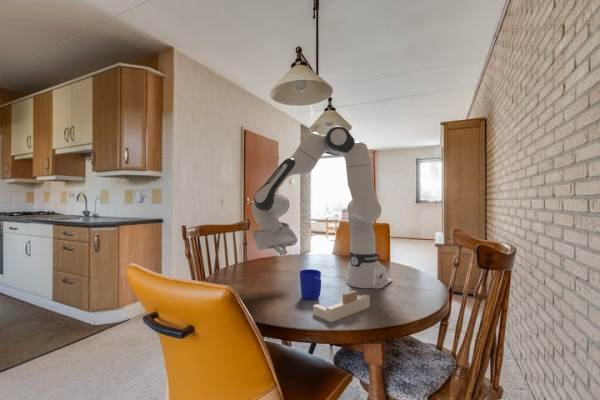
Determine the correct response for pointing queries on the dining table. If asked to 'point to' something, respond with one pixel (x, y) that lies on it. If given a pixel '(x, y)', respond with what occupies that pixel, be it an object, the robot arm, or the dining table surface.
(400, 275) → the dining table surface
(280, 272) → the dining table surface
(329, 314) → the beige blocky open frame
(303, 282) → the mug
